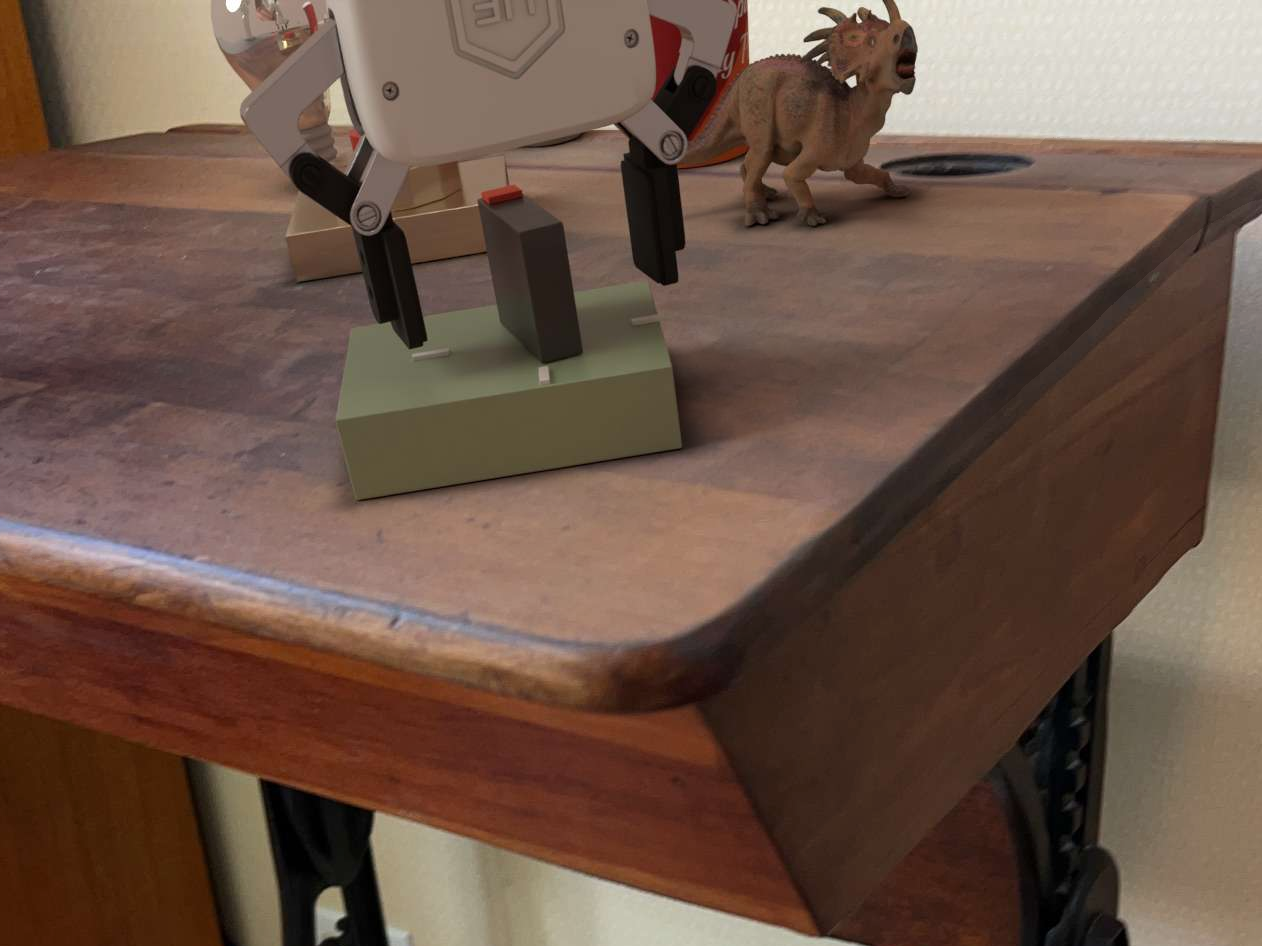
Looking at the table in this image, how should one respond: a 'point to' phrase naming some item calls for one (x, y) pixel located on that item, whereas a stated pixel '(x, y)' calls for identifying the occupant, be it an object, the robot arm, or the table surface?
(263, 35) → the light bulb
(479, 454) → the control panel
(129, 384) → the table surface
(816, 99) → the dinosaur figurine
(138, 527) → the table surface
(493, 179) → the button block
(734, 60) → the coffee cup
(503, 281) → the block
